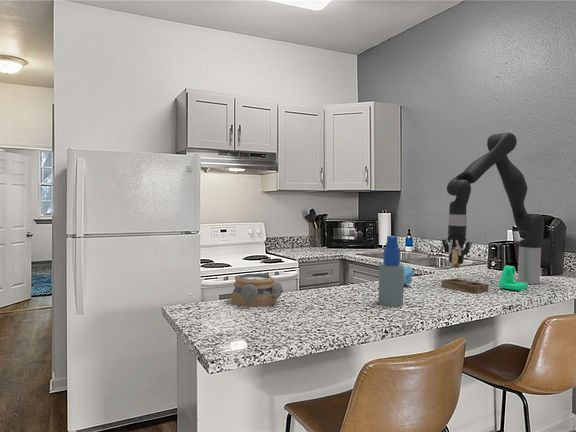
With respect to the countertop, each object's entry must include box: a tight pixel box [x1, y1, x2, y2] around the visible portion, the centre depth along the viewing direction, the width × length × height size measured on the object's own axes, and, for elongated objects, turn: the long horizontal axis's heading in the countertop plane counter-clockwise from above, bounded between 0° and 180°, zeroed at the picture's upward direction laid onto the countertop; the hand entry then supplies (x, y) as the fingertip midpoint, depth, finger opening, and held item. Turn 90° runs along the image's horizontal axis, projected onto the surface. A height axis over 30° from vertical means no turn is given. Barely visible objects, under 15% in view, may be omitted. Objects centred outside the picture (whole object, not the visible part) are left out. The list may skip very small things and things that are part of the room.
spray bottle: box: [377, 235, 405, 308], centre depth 155 cm, size 9×9×25 cm
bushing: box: [450, 248, 461, 268], centre depth 187 cm, size 4×4×8 cm
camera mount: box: [498, 264, 529, 292], centre depth 186 cm, size 12×8×10 cm, turn 129°
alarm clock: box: [230, 273, 285, 308], centre depth 152 cm, size 17×9×23 cm
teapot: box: [381, 262, 416, 287], centre depth 190 cm, size 18×14×10 cm
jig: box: [441, 277, 489, 295], centre depth 184 cm, size 10×16×3 cm, turn 36°
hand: (455, 263), depth 187 cm, fingers closed on bushing, 3 cm apart
